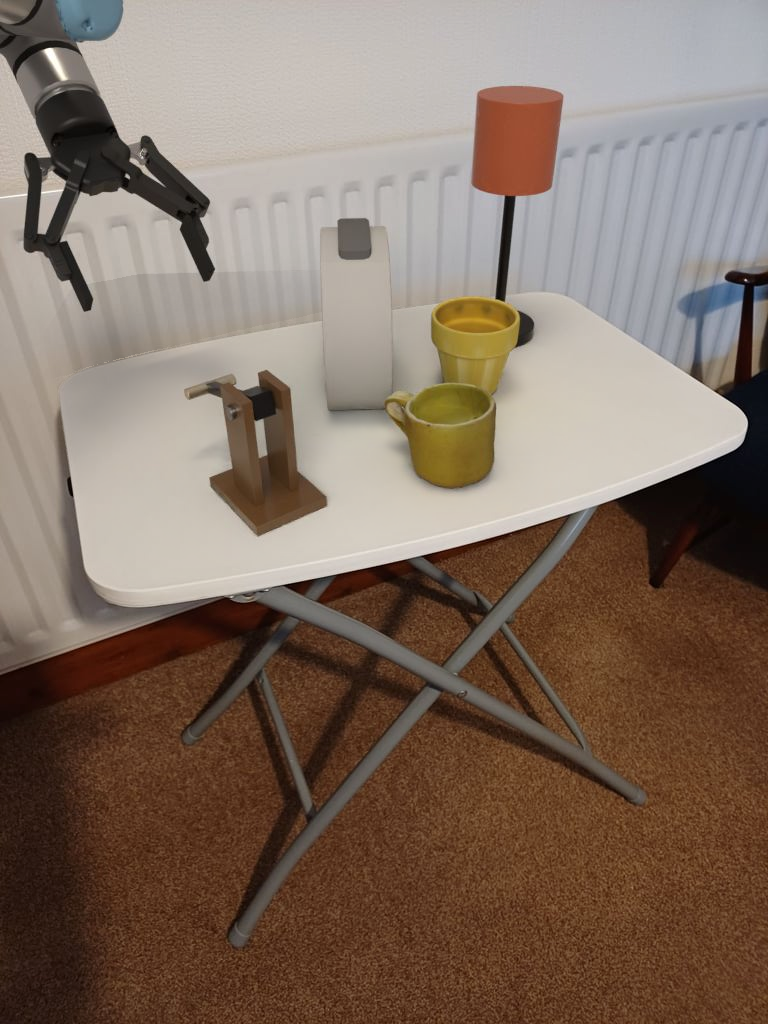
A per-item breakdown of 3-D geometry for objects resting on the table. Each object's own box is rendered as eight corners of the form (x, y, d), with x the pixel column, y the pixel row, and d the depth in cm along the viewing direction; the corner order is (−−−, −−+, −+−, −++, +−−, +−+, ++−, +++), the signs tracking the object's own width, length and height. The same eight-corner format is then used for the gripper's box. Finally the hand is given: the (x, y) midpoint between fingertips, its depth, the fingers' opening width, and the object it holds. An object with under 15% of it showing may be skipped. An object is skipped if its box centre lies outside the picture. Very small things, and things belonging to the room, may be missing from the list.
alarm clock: (328, 344, 107) (320, 194, 95) (382, 343, 107) (382, 193, 95) (327, 428, 90) (318, 260, 78) (392, 426, 91) (393, 258, 78)
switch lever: (187, 404, 82) (180, 382, 81) (234, 388, 84) (228, 367, 83) (240, 427, 72) (233, 402, 71) (291, 408, 74) (286, 384, 73)
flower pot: (455, 416, 93) (461, 340, 86) (413, 378, 100) (415, 305, 94) (528, 396, 96) (538, 321, 90) (482, 360, 103) (489, 289, 97)
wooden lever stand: (210, 486, 82) (191, 377, 74) (276, 460, 85) (265, 354, 77) (257, 536, 76) (242, 423, 68) (327, 506, 79) (320, 395, 71)
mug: (530, 449, 84) (505, 375, 77) (470, 514, 80) (440, 442, 74) (447, 424, 92) (419, 355, 86) (390, 481, 88) (356, 414, 82)
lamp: (466, 349, 106) (484, 104, 87) (456, 317, 114) (471, 86, 95) (539, 347, 106) (573, 103, 88) (525, 316, 114) (552, 85, 95)
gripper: (171, 117, 93) (245, 279, 93) (-54, 148, 81) (31, 334, 81) (183, 73, 86) (264, 248, 86) (-60, 100, 74) (33, 302, 74)
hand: (151, 290), depth 83 cm, fingers open, 13 cm apart
